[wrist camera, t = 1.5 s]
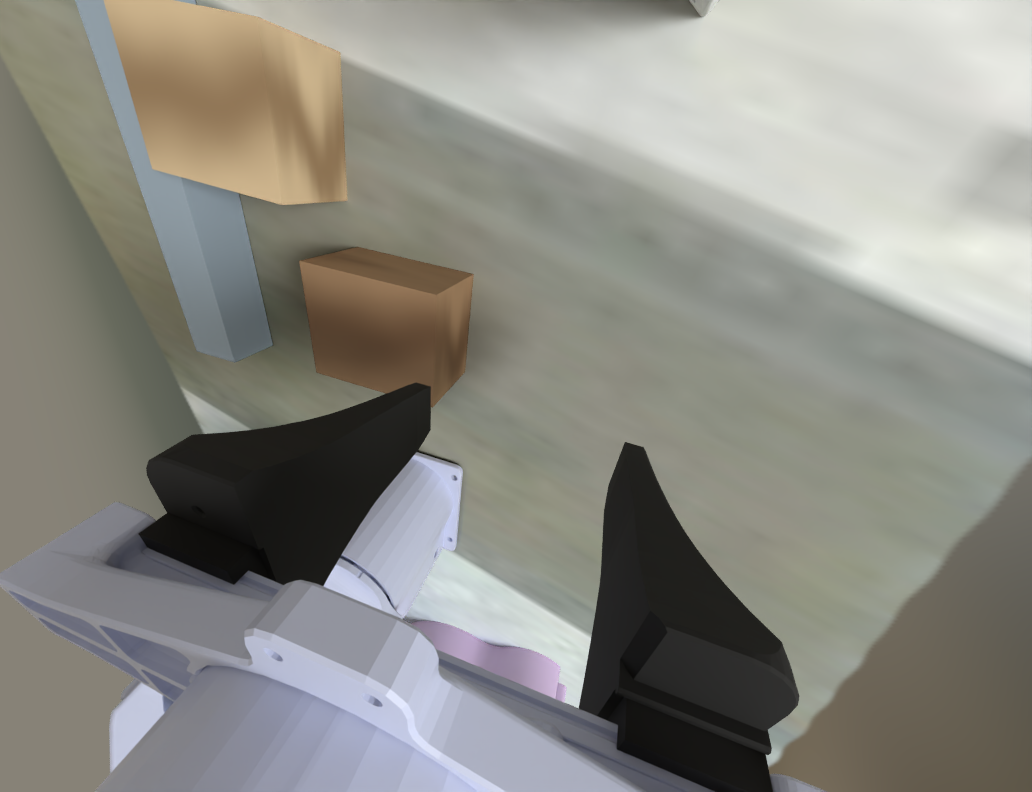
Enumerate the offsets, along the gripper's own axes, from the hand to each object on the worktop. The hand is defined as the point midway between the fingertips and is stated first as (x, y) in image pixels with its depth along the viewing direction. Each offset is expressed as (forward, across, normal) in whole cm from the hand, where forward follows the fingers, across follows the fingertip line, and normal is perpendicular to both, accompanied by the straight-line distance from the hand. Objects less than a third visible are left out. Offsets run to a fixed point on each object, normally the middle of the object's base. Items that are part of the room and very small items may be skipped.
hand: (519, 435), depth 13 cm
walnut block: (+9, +9, 0) cm, 12 cm away
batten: (+8, +22, -4) cm, 23 cm away
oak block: (+9, +16, -8) cm, 20 cm away
